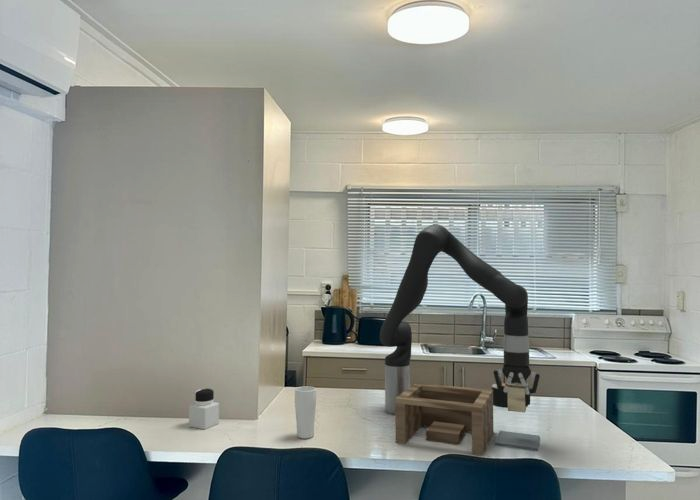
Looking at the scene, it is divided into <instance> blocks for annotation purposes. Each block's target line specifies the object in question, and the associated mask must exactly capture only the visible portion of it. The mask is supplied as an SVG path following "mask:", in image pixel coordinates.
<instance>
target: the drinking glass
mask: <svg viewBox="0 0 700 500" xmlns="http://www.w3.org/2000/svg"><path fill="white" fill-rule="evenodd" d="M316 406H317V389H316V387H314V386H311V385H310V386H306V385H305V386H299V387H296V388H295V390H294V408H295V420H296V436H297V438H300V439H303V440H305V439H307V440H308V439H311V438H312V437H314V435H315V419H316Z"/></svg>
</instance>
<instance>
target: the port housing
mask: <svg viewBox="0 0 700 500" xmlns="http://www.w3.org/2000/svg"><path fill="white" fill-rule="evenodd" d="M394 415H395V427H394V428H395V443H397V444H401V445H405V444H407V442H409V441H410V439H411V438H412V437H413V436H414V435H415V434H416V433H417V432H418V431H419V430H420V429H421V428H422V427H428V428H427V429H426V430H425V431H426V433H425V435H426V436H425V437H426V438H425V440H426V441H431V442H436V443H442V444H443V443H444V444H452V445H456V446H459V445H460V443H461V442H462V440H463V438H464V437H465V435H466V433H467V432H468V433H471V455H476V456H482V457H483V456H484V454H485V451H486V449H487V447H488V445H489V443H490V441H491V438H492V436H493V434H494V405H493V390H492V389H484V388H475V387H474V388H473V387H465V386H464V387H462V386H452V385H441V384H432V383H431V384H430V383H424V382H423V383H421V382H414V384H412V385H410V387H409V388H408V389H407V390H405V391H404V392H403V393H401V394H400V395H399V396H397V397H396V398H395V414H394Z"/></svg>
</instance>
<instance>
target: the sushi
mask: <svg viewBox="0 0 700 500" xmlns="http://www.w3.org/2000/svg"><path fill="white" fill-rule="evenodd" d="M501 383H502V386H505V384H506V382H505V383H504V382H501ZM491 390H493V407H494V406H495V407H500V408H506V409H508V405H506V403H505V402H504V392H503V391H502V390H498V388H497V384H496V383H493V384H492V385H491Z"/></svg>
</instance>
